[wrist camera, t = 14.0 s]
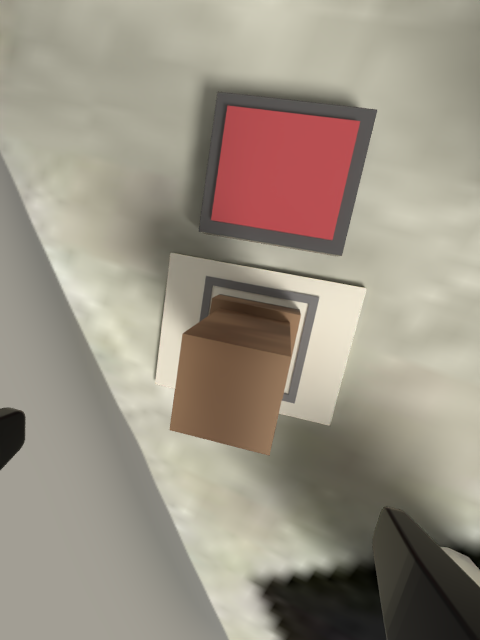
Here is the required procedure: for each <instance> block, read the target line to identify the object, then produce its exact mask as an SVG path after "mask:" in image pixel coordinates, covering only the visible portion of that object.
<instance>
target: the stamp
mask: <svg viewBox="0 0 480 640" xmlns="http://www.w3.org/2000/svg"><path fill="white" fill-rule="evenodd" d="M300 318H301V313H300V309H295V308H290V307H284V306H279V305H274V304H269V303H264V302H259V301H254V300H249V299H243V298H238V297H233V296H228V295H223V294H219V295H217V296H215V297H213V298H212V301H211V308H210V315H209V316H207V317H206V318H204V319H203V320H201V321H200V322H199V323H197V324H196V325H194V326H193V327H191V328H190V329H188V330H187V331H186V332H184V333H183V334H182V341H181V348H180V356H179V363H178V371H177V378H176V386H175V393H174V401H173V408H172V416H171V423H170V430H172V431H176V432H180V433H184V434H187V435H191V436H195V437H199V438H203V439H207V440H211V441H215V442H219V443H223V444H227V445H230V446H234V447H238V448H242V449H246V450H250V451H254V452H258V453H262V454H266V455H270V451H271V446H272V442H273V437H274V433H275V428H276V424H277V419H278V415H279V410H280V406H281V401H282V399H283V394H284V390H285V385H286V381H287V376H288V372H289V367H290V363H291V358H292V354H293V349H294V345H295V340H296V336H297V331H298V327H299V322H300Z"/></svg>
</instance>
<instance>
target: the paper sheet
mask: <svg viewBox="0 0 480 640" xmlns="http://www.w3.org/2000/svg"><path fill="white" fill-rule="evenodd" d="M366 289H367V288H363V287H358V286H352V285H347V284H341V283H336V282H330V281H325V280H319V279H314V278H308V277H303V276H297V275H292V274H286V273H281V272H275V271H270V270H264V269H259V268H253V267H248V266H242V265H237V264H231V263H226V262H220V261H215V260H209V259H204V258H198V257H193V256H187V255H182V254H176V253H170V260H169V269H168V277H167V286H166V294H165V303H164V311H163V320H162V328H161V337H160V346H159V354H158V363H157V371H156V380H155V384H157V385H161V386H165V387H169V388H174V389H175V386H176V378H177V371H178V363H179V356H180V348H181V341H182V334H183V333H184V332H186V331H187V330H188V329H190V328H191V327H193V326H194V325H196V324H197V323H199V322H200V321H201V320H203V319H204V318H206V317H207V316H209V315H210V308H211V301H212V298H213V297H215V296H217V295H219V294H223V295H228V296H233V297H238V298H243V299H249V300H254V301H259V302H264V303H269V304H274V305H279V306H284V307H290V308H295V309H300V313H301V318H300V322H299V327H298V331H297V336H296V340H295V345H294V349H293V354H292V358H291V363H290V367H289V372H288V376H287V381H286V385H285V390H284V394H283V399H282V401H281V406H280V410H279V414H282V415H287V416H291V417H295V418H299V419H303V420H308V421H312V422H316V423H320V424H324V425H329V426H330V424H331V420H332V416H333V412H334V409H335V405H336V401H337V397H338V394H339V390H340V386H341V383H342V379H343V375H344V371H345V368H346V364H347V360H348V356H349V353H350V349H351V345H352V342H353V338H354V334H355V330H356V327H357V323H358V319H359V315H360V312H361V308H362V304H363V301H364V297H365V293H366Z"/></svg>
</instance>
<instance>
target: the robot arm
mask: <svg viewBox="0 0 480 640" xmlns="http://www.w3.org/2000/svg"><path fill="white" fill-rule="evenodd" d="M24 441H25V414H24V412H23V411H21V410H17V409H13V408H2V409H0V470H1V469H2V468H3V467H4V466H5V465H6V464H7V462H8V461H9V460H10V459H11V458H12V457H13V456H14V455H15V454H16V453H17V452H18V451H19V450H20V449H21V447H22V446H23V444H24ZM372 544H373V553H374V559H375V566H376V573H377V579H378V586H379V592H380V599H381V606H382V612H383V619H384V625H385V630H386V636H387V640H480V586H479V585H478V584H477V583H476V582H475V581H474V580H473V579H472V578H471V577H470V576H469V575H468V574H467V573H466V572H465V571H464V570H463V569H462V568H461V567H460V566H459V565H458V564H457V563H456V562H455V561H454V560H453V559H452V558H451V557H450V556H449V555H448V554H447V553H446V552H445V551H444V550H443V549H442V548H441V547H440V546H439V545H438V544H437V543H436V542H435V541H434V540H433V539H432V538H431V537H430V536H429V535H428V534H427V533H426V532H425V531H424V530H423V529H422V528H421V527H420V526H419V525H418V524H417V523H416V522H415V521H414V520H413V519H412V518H411V517H410V516H409V515H408V514H407V513H405V512H404V511H402V510H399V509H395V508H391V507H384V508H383V509H382V511H381V513H380V516H379V519H378V522H377V525H376V528H375V531H374V534H373V541H372Z"/></svg>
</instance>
